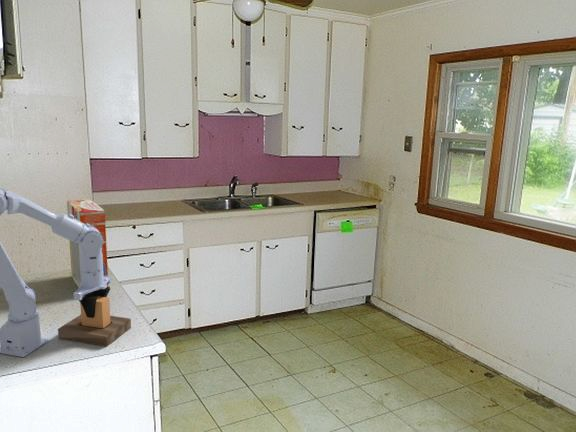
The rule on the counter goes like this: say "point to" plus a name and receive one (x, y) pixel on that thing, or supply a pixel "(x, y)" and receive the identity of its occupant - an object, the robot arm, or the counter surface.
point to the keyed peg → (98, 314)
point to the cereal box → (95, 217)
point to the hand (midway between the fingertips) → (94, 314)
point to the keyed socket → (94, 331)
